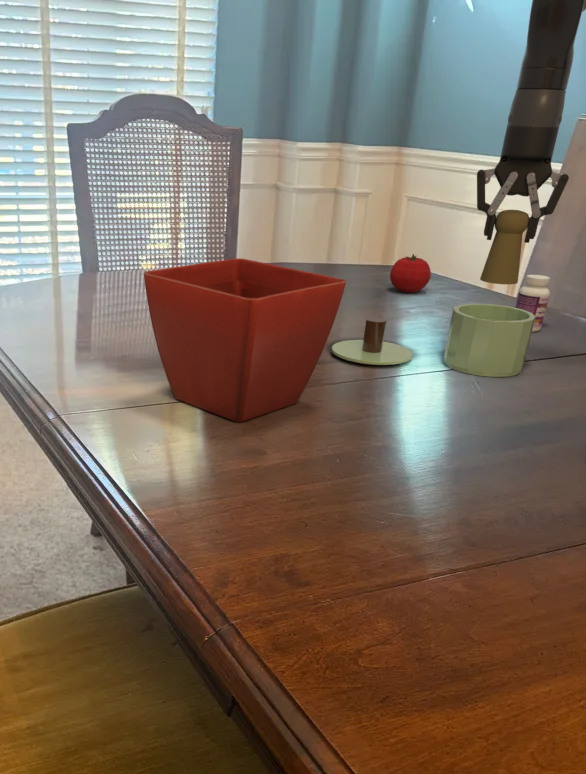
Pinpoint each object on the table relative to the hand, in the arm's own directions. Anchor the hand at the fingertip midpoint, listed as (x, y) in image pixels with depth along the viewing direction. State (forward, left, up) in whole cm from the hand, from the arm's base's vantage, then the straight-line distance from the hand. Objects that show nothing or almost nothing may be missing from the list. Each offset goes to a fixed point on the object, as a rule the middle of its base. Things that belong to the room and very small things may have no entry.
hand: (507, 240), depth 127 cm
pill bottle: (-17, -3, -18) cm, 25 cm away
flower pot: (+56, -1, -18) cm, 59 cm away
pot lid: (+23, -6, -17) cm, 29 cm away
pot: (+11, +7, -17) cm, 22 cm away
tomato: (-24, -37, -18) cm, 47 cm away
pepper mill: (0, 0, -7) cm, 7 cm away
